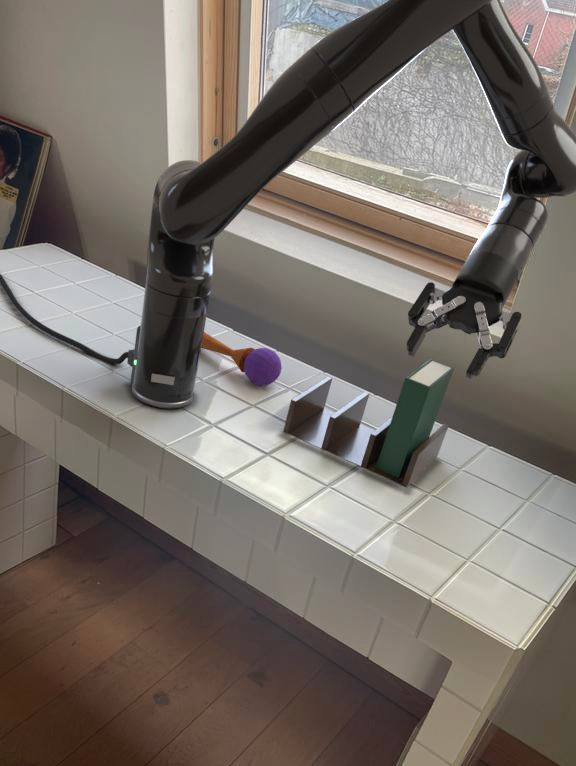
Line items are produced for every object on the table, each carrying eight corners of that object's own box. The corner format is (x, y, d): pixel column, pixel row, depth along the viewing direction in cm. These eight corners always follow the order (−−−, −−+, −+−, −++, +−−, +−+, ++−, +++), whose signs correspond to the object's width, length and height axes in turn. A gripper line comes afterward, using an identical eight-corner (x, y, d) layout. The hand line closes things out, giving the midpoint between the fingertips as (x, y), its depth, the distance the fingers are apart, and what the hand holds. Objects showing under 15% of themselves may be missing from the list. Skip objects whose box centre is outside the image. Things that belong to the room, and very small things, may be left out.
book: (375, 468, 115) (405, 377, 107) (401, 445, 122) (430, 358, 114) (398, 478, 114) (430, 387, 106) (422, 454, 121) (454, 367, 113)
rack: (282, 436, 120) (290, 399, 117) (318, 410, 129) (328, 376, 126) (405, 491, 113) (418, 454, 109) (435, 461, 121) (448, 425, 118)
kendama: (205, 317, 143) (293, 354, 132) (197, 351, 145) (282, 390, 134) (181, 316, 139) (270, 354, 127) (173, 351, 141) (260, 391, 130)
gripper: (445, 235, 114) (389, 333, 112) (547, 267, 108) (490, 370, 106) (445, 266, 120) (393, 358, 119) (541, 297, 115) (487, 395, 113)
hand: (439, 364), depth 112 cm, fingers open, 8 cm apart
